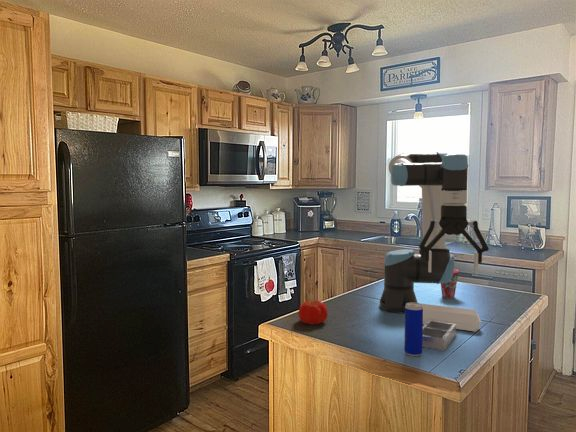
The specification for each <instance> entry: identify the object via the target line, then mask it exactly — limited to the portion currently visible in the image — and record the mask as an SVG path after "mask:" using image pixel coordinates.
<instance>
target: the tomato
mask: <svg viewBox="0 0 576 432" xmlns="http://www.w3.org/2000/svg"><path fill="white" fill-rule="evenodd" d="M328 312H329V311H328V308H327V306H326V304H325V303H324V302H321V301H320V300H313V301H311V302H310V301H308V300H307V301H304V302H302V304H301V305H300V306H299V308H298V317H299V318H298V319H299V320H300V321H301V322H302V323H304V324H309V325H312V326H313V325H314V326H315V325H319V324H322V323H324V322H325V321H326V320H327V317H328V315H329V313H328Z"/></svg>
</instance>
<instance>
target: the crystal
mask: <svg viewBox="0 0 576 432" xmlns="http://www.w3.org/2000/svg"><path fill="white" fill-rule="evenodd" d="M421 304H422V307H423V326H424V325H425V324H426V322H427V321H428V320H433V321H440V322H446V323H452V324H456V330H461V331H462V330H463V331H469V332H477V331H479V329H480V328H481V326H482V325H481V324H482V321H481V318H480V315H479V314H478V312H477V310H475V309H471V308H462V307H453V306H445V305H435V304H427V303H421Z"/></svg>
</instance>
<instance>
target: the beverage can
mask: <svg viewBox="0 0 576 432" xmlns="http://www.w3.org/2000/svg"><path fill="white" fill-rule="evenodd" d="M422 304H423V303H419V302H418V303H415V302H409V303H406V306H405V313H404V352H405V354H406V355H408V356H411V357H418V356H419V357H420V356H421V355H422V354H423V347H422V338H423V326H424V325H423V307H422Z"/></svg>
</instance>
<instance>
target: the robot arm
mask: <svg viewBox="0 0 576 432" xmlns="http://www.w3.org/2000/svg"><path fill="white" fill-rule="evenodd" d="M468 161H469V159H468V155H466V154H459V153H457V154H456V153H455V154H454V153H453V154H448V153H447V152H445V151H409V152H403V153H400V154H397V155H396V156H393V157H392V158H391V160H390V161H389V163H388V171H389V173H390V182H391V184H392V186H395V187H397V186H399V187H405V186H406V187H408V186H409V187H410V186H411V187H412V186H419V187H420V188H421V213H422V214H421V217H422V218H421V219H422V239H421V242H420V243H419V245H418V248H419V249H418V253H415V250H413V249H405V248H404V249H395V250H391V251H388V252H386V253H385V254H384V260H383V262H384V263H383V266H384V269H383V270H384V275H383V276H384V277H383V291H382V294H381V296H380V299H379V308H380V309H381V310H383V311H387V312H390V313H391V312H392V313H398V314H400V313H401V314H403V313H404V314H405V306H406V303H409V302H415V303H419V302H418V299H417V296H416V293H415V289H414V284H415V283H416V284H437V285H439V284H441V283H449V282H450V281H451V279H452V276H453V271H454V269H455V256H454V254H452V253H451V252H450V248H449V247H447V246H446V235H448V236H451V235H452V236H453V235H455V236H460V235H461V234H462V236H463V237H465V239H466V240H467V241H468V243H470V244H471V246H472V247H473V248H474V249H475V250H476V251H474V252H473V255H474V256H473V273H474V275H478V274H479V264H481V263H482V261H483V253H484V252H488V251H489V250H490V249H489V247H488V245H487V242H486V241H485V238H484V237H483V235H482V233H481V231H480V229H479V223H478V221H477V220H471V221H469V220H468V219H467V213H468V210H467V209H468V208H467V205H466V204H467V203H468V170H469V169H468V168H469V163H468ZM468 226H470V228H471V229H473V232H474V234H475V236H476V237H477V239H478V241H479V244H480V245H481V247H480V246H479V245H478V244H477V242H476V241H475V240H474V239H473V238H472V237H471V235H470V234H469V233H468V232H467V231H466V229H467V227H468Z"/></svg>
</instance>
